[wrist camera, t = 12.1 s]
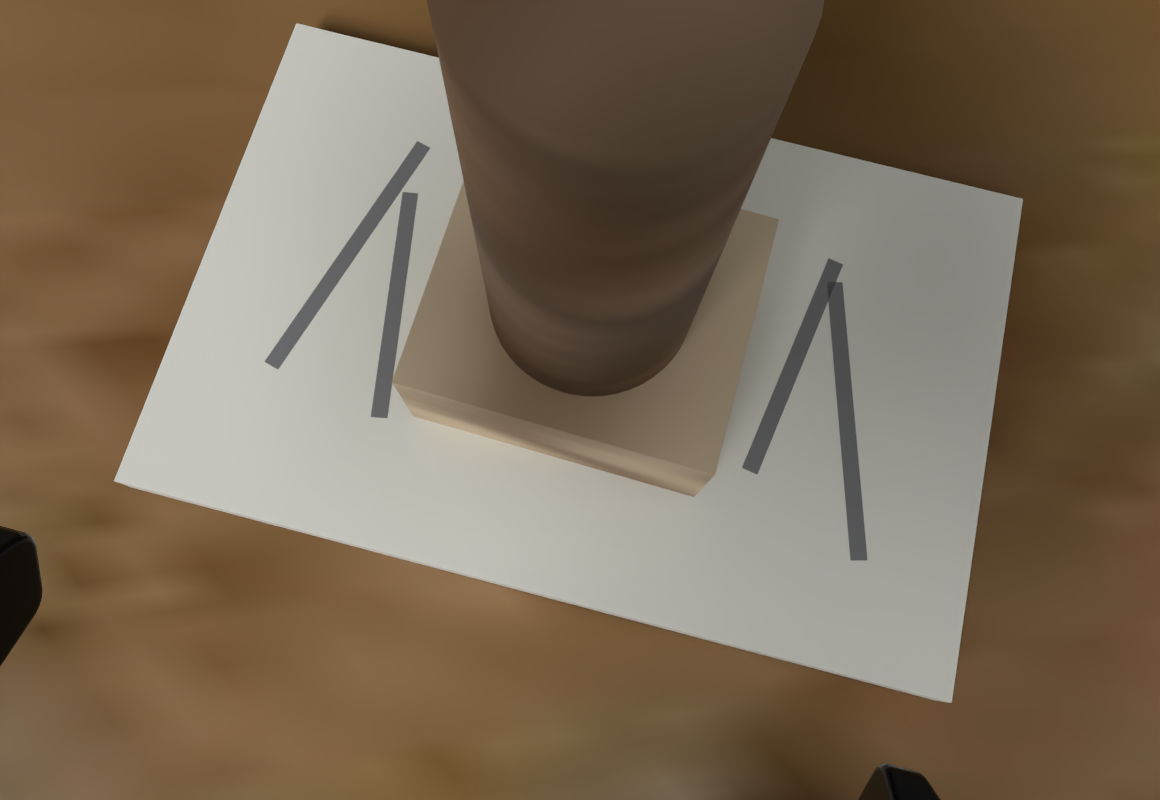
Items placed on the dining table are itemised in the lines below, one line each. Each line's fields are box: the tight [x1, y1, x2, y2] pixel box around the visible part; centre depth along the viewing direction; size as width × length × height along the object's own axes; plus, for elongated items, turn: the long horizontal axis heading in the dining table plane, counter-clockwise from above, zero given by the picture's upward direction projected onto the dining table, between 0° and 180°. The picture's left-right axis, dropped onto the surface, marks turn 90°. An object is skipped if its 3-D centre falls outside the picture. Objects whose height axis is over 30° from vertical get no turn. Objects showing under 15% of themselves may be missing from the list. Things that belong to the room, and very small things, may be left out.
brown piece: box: [392, 0, 825, 497], centre depth 16 cm, size 7×6×13 cm
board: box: [114, 23, 1023, 703], centre depth 23 cm, size 20×13×1 cm, turn 76°
